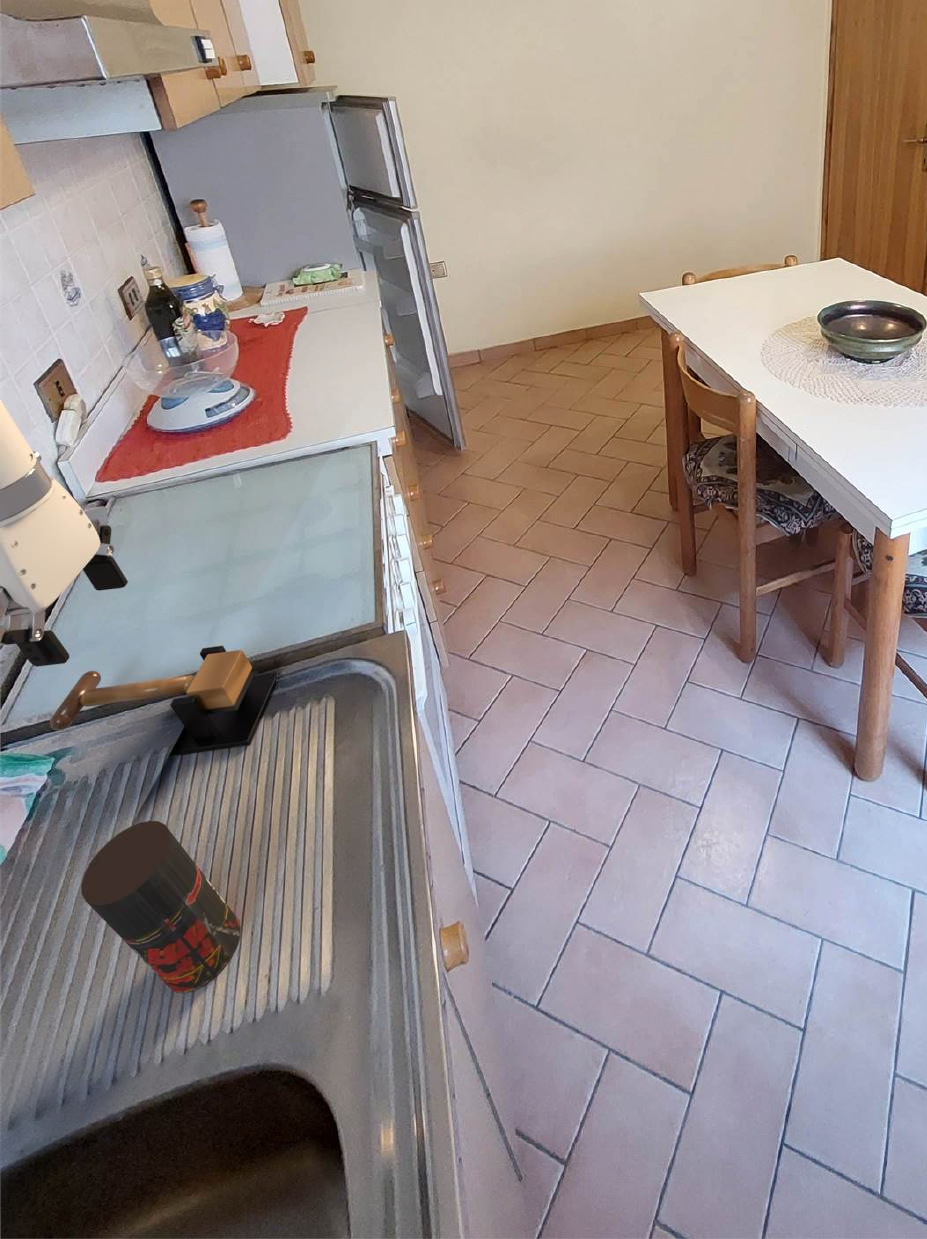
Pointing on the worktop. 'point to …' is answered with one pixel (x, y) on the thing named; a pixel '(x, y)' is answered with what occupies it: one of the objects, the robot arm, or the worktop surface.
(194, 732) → the brush stand
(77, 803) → the worktop surface
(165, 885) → the deodorant
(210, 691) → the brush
